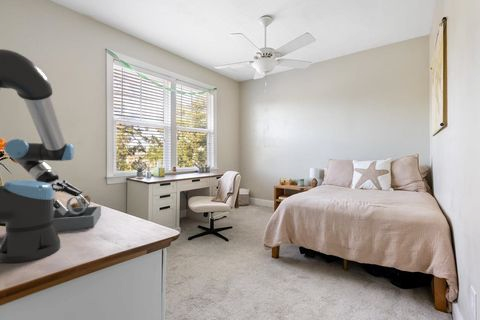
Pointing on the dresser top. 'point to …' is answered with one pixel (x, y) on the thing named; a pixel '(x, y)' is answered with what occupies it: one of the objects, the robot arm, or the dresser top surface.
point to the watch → (81, 202)
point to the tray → (77, 219)
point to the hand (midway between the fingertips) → (77, 208)
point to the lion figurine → (75, 205)
